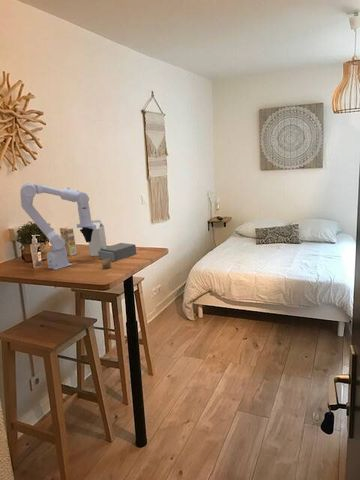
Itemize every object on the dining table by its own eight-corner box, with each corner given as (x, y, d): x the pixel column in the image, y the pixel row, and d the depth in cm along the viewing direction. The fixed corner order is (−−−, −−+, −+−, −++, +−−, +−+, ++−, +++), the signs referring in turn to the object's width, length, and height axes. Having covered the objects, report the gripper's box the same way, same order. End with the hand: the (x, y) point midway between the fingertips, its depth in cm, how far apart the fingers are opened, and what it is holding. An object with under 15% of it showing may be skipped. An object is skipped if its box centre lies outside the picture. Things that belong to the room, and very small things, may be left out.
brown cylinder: (106, 269, 180) (104, 261, 179) (101, 268, 183) (99, 260, 182) (112, 267, 183) (111, 259, 182) (107, 266, 185) (106, 258, 185)
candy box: (77, 254, 217) (73, 227, 214) (70, 256, 214) (66, 229, 211) (70, 252, 223) (65, 226, 220) (63, 254, 220) (59, 228, 217)
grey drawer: (113, 261, 193) (112, 253, 192) (99, 258, 201) (98, 250, 200) (134, 254, 203) (133, 246, 202) (120, 252, 211) (119, 244, 210)
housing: (115, 260, 194) (114, 250, 193) (101, 258, 202) (100, 248, 201) (136, 254, 204) (135, 244, 203) (122, 251, 212) (120, 242, 211)
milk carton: (102, 255, 207) (97, 221, 203) (90, 256, 209) (85, 222, 205) (107, 252, 214) (102, 219, 210) (95, 253, 216) (90, 219, 212)
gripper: (99, 215, 193) (103, 241, 196) (83, 214, 202) (87, 239, 205) (87, 217, 188) (91, 244, 191) (71, 216, 198) (75, 242, 200)
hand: (88, 241), depth 198 cm, fingers closed
